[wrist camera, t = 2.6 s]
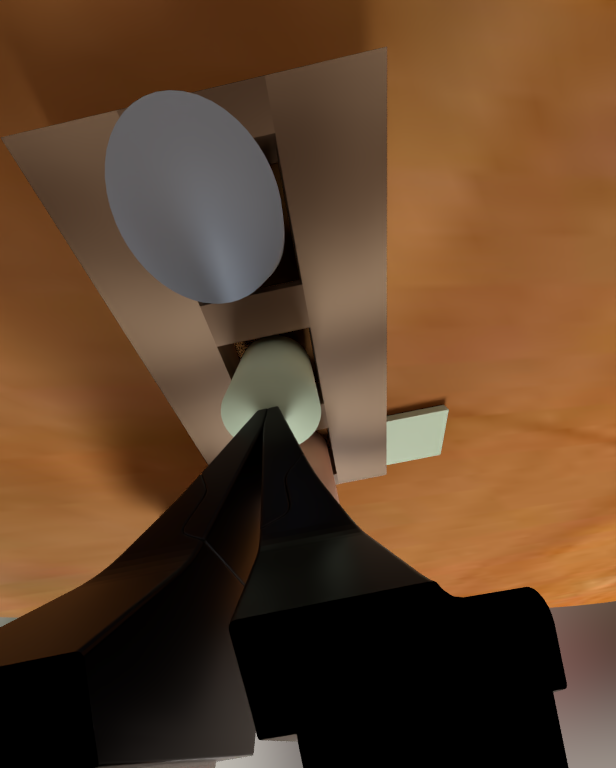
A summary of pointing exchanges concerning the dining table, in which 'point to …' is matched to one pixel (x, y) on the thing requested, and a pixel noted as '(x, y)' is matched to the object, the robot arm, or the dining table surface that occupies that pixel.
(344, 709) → the robot arm
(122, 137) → the grey rounded piece
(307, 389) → the sage button
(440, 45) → the dining table surface
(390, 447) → the chip
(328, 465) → the terracotta button
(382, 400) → the button board
